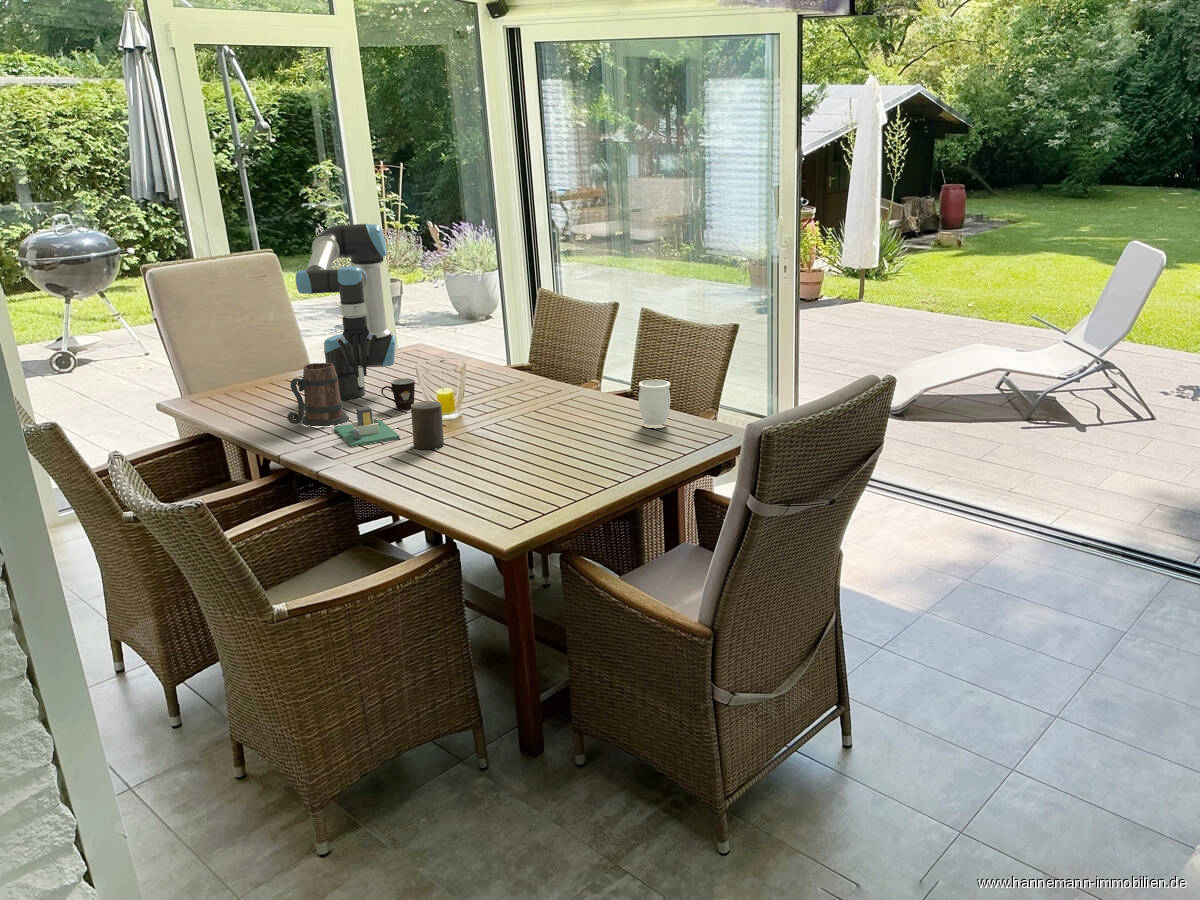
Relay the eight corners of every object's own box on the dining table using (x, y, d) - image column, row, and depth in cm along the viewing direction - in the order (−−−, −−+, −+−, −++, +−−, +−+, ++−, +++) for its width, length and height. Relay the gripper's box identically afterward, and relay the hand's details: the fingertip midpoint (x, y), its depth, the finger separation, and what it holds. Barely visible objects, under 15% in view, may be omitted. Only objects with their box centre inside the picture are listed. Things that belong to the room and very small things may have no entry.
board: (334, 429, 330) (333, 418, 329) (380, 422, 338) (379, 411, 336) (351, 447, 312) (350, 435, 311) (399, 438, 319) (398, 427, 318)
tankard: (327, 411, 352) (320, 357, 346) (360, 418, 343) (354, 363, 337) (274, 428, 334) (267, 372, 327) (308, 435, 325) (300, 378, 318)
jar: (674, 423, 328) (674, 380, 324) (663, 432, 320) (663, 388, 315) (645, 420, 333) (645, 378, 328) (634, 428, 324) (633, 385, 319)
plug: (358, 430, 325) (356, 407, 323) (370, 428, 327) (367, 406, 325) (362, 434, 322) (359, 410, 319) (374, 431, 324) (371, 408, 321)
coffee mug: (419, 404, 358) (417, 378, 355) (413, 411, 350) (411, 384, 347) (389, 404, 359) (386, 378, 356) (382, 410, 351) (379, 384, 348)
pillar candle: (430, 452, 306) (427, 406, 301) (407, 447, 311) (403, 402, 306) (450, 443, 313) (447, 399, 309) (427, 439, 318) (424, 395, 314)
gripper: (336, 320, 306) (345, 391, 314) (377, 315, 312) (384, 385, 320) (330, 315, 312) (339, 386, 320) (370, 311, 318) (377, 380, 326)
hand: (361, 385), depth 320 cm, fingers closed
